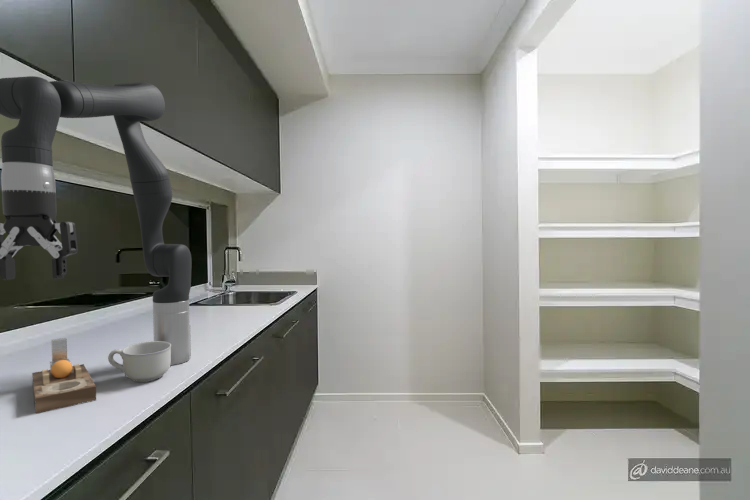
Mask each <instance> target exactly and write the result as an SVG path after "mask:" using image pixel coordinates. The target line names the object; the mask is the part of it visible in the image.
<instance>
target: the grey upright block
mask: <svg viewBox="0 0 750 500" xmlns="http://www.w3.org/2000/svg"><path fill="white" fill-rule="evenodd" d="M50 341H51V342H50V343H51V344H50V345H51V361H49V370H50V373H51V367H52V365H53V364H54V363H55V362H57V361H60V360H67V361H69V362H70V363H71V361H70V359H69V358H68V340H67V337H63V338H61V337H60V338H55V339H50ZM51 376H53V375H52V374H51Z"/></svg>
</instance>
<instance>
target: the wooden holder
mask: <svg viewBox="0 0 750 500" xmlns="http://www.w3.org/2000/svg"><path fill="white" fill-rule="evenodd" d="M72 367H73V368H72V371H71V373H70V374H69V375H68V376H66V377H64V378H56V377H54V376H51V373H50V369H48V368H46V369H42V370H41V371H36V372H32V373H31V375H32V390H33V398H34V406H35V413H36V414H40V413H44V412H48V411H52V410H53V411H54V410H57V409H63V408H66V407H71V405H72V406H75V405H74V404H76V405H79V404H78V403H81V404H83V403H82V402H85V403H88V402H87V401H90V402H93V401H92V400H94V401H97V388H96V387H97V386H96V383H94V381H93V379H92V377H91V375H90V373H89V371H88V370H87V368H86V366H85V364H84V363H83V364H80V363H76V364H73V365H72Z"/></svg>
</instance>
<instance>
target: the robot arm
mask: <svg viewBox="0 0 750 500" xmlns="http://www.w3.org/2000/svg"><path fill="white" fill-rule="evenodd" d="M165 110H166V102H165V98H164V95H163V93H162V91H161V90H160V89H159V88H158V87H157V86H156V85H154V84H151V83H149V82H144V81H143V82H142V81H141V82H128V83H127V82H126V83H125V82H123V83H121V82H120V83H116V84H114V85H104V84H98V83H97V84H96V83H88V82H79V81H67V80H51V81H49V80H47V79H46V78H43V77H42V76H33V75H31V76H30V75H29V76H17V77H16V76H14V77H2V78H0V115H2V116H3V117H6V118H9V119H11V120H18V122H17V125H16V126H15V127H13V128H11V129H9V130H6V131H4V132H3V134H2V135H1V140H0V141H1V143H0V147H1V164H2V166H1V172H0V173H1V174H0V180H1V181H0V185H1V203H2V214H3V215H4V217H5V220H4V223H2V222H0V277H1V278H2V280H3V281H10V280H11V281H12V280H15V279H16V275H17V274H16V273H17V272H16V259H15V258H13V257H14V256H15V255H16V254H17V252H19V250H21V249H22V248H23V247H26V246H27V247H31V246H32V247H39V246H40V247H42V248H43V249H44V250H46V252H48V253H49V254H50V255H51V257H53V258H51V270H52V273H51V274H52V278H53V279H54V280H58V279H59V280H60V279H64V278H65V276H66V275H67V273H68V263H67V261H68V257H69V256H72V255H76V254H78V252H79V246H78V239H77V229H76V223H75V222H72V221H61V222H58V221H57V220H56V216H57V211H58V210H57V207H58V206H57V193H56V191H57V189H56V176H55V172H54V167H53V165H54V163H53V141H54V140H55V136H56V132H57V128H58V125H59V121H60V118H65V119H87V118H88V119H90V118H101V117H113V119H114V122H115V125H116V128H117V132H118V135H119V137H120V140H121V143H122V148H123V152H124V155H125V160H126V165H127V168H128V173H129V174H128V175H129V179H130V183H131V189H132V193H133V194H132V195H133V198H134V202H135V206H136V210H137V215H138V221H139V226H140V236H141V242H142V243H141V244H142V254H143V255H142V256H143V261H144V265H145V269H146V270H147V272H148V274H150V275H151V276H153V277H161V278H162V277H166V278H167V277H168V283H167V284H166V285H165V286H164V287H162V288H160V289H157V290H155V291H154V292H153V293H152V315H153V316H152V317H153V318H152V319H153V320H152V323H153V325H152V327H153V328H152V329H153V332H152V333H153V341H163V342H168V343H170V344H171V364H170V366H173V365H178V364H183V363H185V362H188V361H189V360H191V357H192V343H191V341H192V340H191V337H192V335H191V324H190V293H191V288H192V284H191V283H192V264H193V263H192V261H193V260H192V253H191V251H190V249H189V247H188V246H187V245H186V244H181V243H180V244H179V243H165V241H164V235H163V224H164V220H165V218H166V216H167V214H168V211H169V209H170V206H171V204H172V201H173V191H172V185H171V180H170V175H169V172H168V170H167V168H166V166H165V165H164V163H163V162H162V160H160V159H159V157H158V156H157V155H156V154H155V152H154V151H153V150H152V148H151V147H150V146H149V144H148V143H147V141H146V139H145V137H144V134H143V130H142V128H141V122H154V121H156V120H159V119H160V118H162V117H163V116H164V114H165ZM57 232H58V233H59V234H60V240H61V241H60V240H59V238H57V236H56V235H55V234H56V233H57ZM4 234H7V236H6V237H5V239H4Z"/></svg>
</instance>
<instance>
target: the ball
mask: <svg viewBox="0 0 750 500" xmlns="http://www.w3.org/2000/svg"><path fill="white" fill-rule="evenodd" d="M69 361H70V360H69ZM69 361H67V360H60V361H57V362H55V363H54V364H53V365H52V367H51V374H52V375H53V376H54V377H56V378H64V377H66V376H68V375H69V374H70V373H71V371H72V368H73V367H72V366H73V364H72V362H71V361H70V362H69Z"/></svg>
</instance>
